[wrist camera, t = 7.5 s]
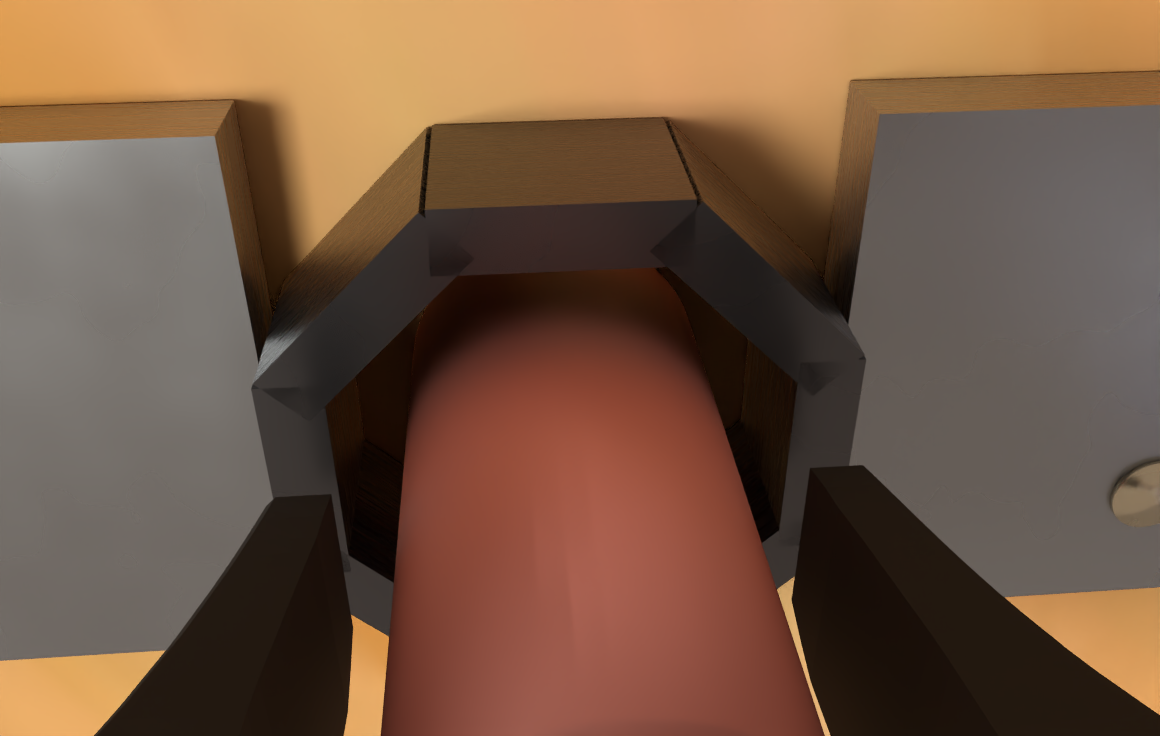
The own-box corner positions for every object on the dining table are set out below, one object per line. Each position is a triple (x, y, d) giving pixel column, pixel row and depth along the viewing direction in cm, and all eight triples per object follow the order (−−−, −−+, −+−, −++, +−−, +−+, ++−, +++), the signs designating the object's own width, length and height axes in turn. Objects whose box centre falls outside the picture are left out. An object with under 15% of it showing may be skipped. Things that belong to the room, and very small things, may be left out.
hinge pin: (686, 464, 17) (825, 991, 10) (425, 478, 17) (393, 1028, 10) (700, 228, 15) (890, 701, 8) (400, 240, 15) (339, 739, 8)
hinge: (1362, 522, 19) (1474, 630, 17) (-335, 624, 17) (-448, 760, 15) (1594, 58, 14) (1784, 125, 12) (-652, 126, 13) (-876, 220, 11)
